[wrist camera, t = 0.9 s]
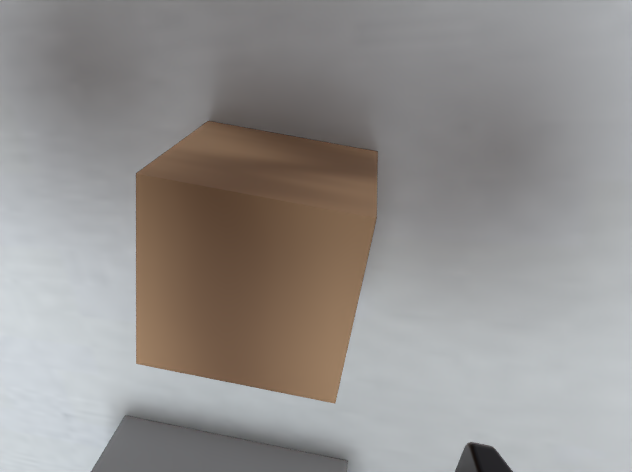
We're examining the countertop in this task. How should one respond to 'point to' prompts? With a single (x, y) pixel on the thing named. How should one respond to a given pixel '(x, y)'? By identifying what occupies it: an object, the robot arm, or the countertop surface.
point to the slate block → (200, 452)
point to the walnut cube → (253, 257)
